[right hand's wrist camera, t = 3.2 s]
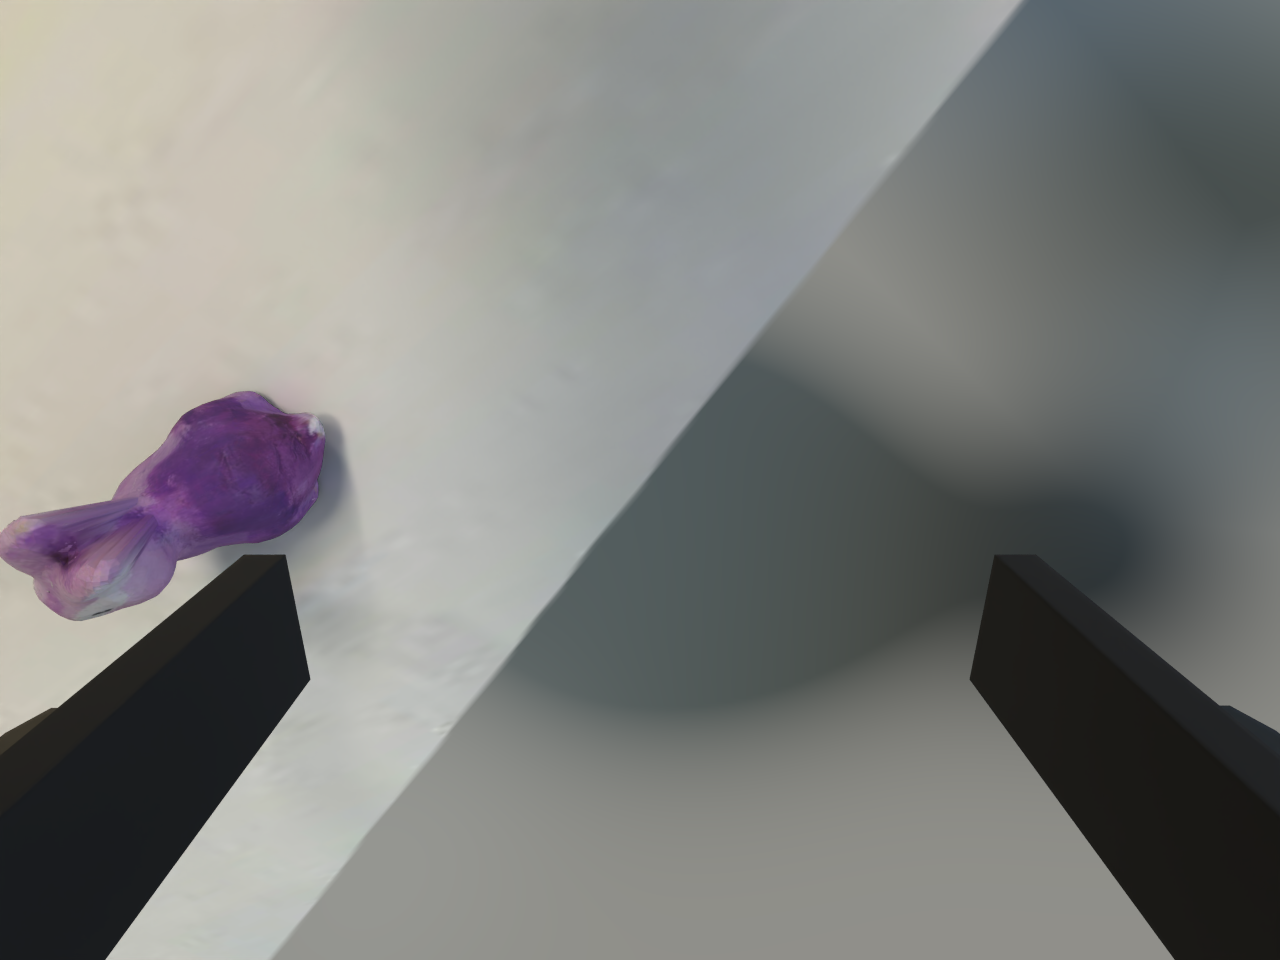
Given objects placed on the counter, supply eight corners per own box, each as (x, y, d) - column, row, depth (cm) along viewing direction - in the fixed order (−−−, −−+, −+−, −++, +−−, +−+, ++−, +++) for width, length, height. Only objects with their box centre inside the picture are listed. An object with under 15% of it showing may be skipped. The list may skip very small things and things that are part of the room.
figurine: (175, 528, 43) (-54, 675, 29) (175, 370, 39) (-86, 449, 25) (327, 559, 43) (177, 717, 29) (340, 407, 40) (177, 503, 26)
